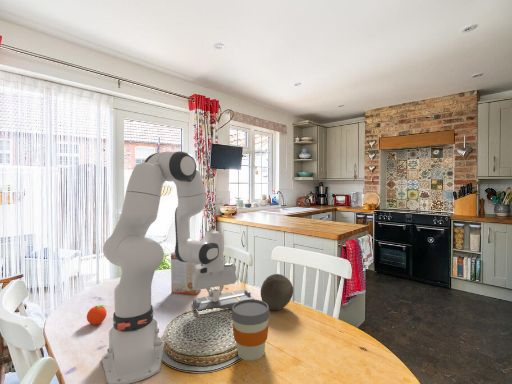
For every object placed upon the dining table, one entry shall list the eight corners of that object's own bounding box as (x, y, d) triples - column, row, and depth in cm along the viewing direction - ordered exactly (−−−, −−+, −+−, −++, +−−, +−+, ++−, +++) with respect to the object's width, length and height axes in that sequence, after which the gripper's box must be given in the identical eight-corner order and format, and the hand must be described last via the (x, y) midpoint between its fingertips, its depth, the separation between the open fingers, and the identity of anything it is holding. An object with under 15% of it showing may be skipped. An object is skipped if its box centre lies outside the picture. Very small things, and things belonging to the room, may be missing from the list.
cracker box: (201, 290, 139) (200, 251, 139) (196, 295, 134) (195, 254, 133) (176, 288, 142) (176, 250, 142) (171, 293, 137) (170, 252, 136)
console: (254, 303, 124) (254, 295, 124) (198, 315, 113) (198, 306, 113) (244, 294, 135) (244, 286, 135) (192, 304, 124) (192, 295, 123)
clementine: (106, 316, 113) (106, 300, 113) (111, 322, 108) (111, 305, 108) (84, 323, 107) (84, 306, 107) (89, 330, 102) (88, 311, 102)
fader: (219, 300, 120) (219, 290, 120) (213, 301, 119) (213, 291, 119) (216, 296, 125) (216, 286, 125) (210, 297, 124) (210, 287, 123)
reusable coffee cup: (239, 368, 80) (239, 319, 79) (227, 345, 91) (226, 302, 91) (276, 357, 85) (276, 311, 84) (260, 337, 96) (259, 296, 96)
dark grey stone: (270, 319, 109) (269, 283, 109) (256, 305, 122) (255, 272, 122) (298, 312, 115) (298, 277, 115) (282, 299, 128) (282, 268, 128)
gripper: (233, 261, 129) (233, 289, 129) (191, 266, 120) (191, 297, 120) (238, 264, 123) (238, 294, 123) (194, 270, 114) (194, 302, 115)
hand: (215, 295), depth 122 cm, fingers closed on fader, 3 cm apart
